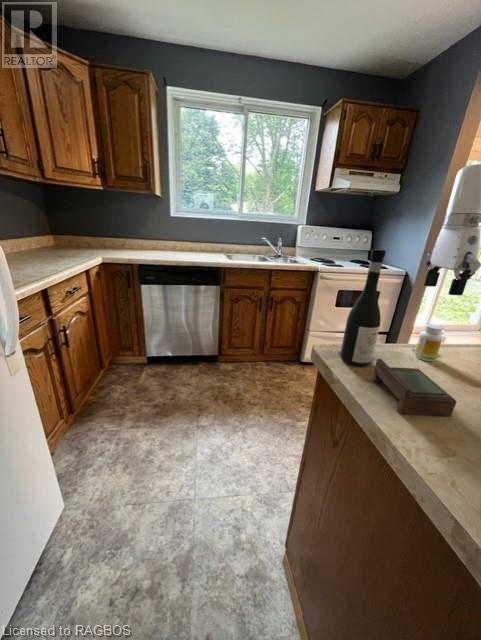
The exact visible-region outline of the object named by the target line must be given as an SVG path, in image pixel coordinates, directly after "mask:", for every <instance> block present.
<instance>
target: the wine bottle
mask: <svg viewBox="0 0 481 640" xmlns="http://www.w3.org/2000/svg"><path fill="white" fill-rule="evenodd" d="M386 252H387V251H386V250H385V249H378V248H374V249H373V248H372V250H371V252H370V253H371V254H370V261H369V264H368V265H369V266H368V271H367V276H366V280H365V285H364V287H363V290H362V292H361V293H360V295H359V297H358V299H357V300H356V301H355V303H354V304H353V306H352V307H351V309H350V311H349V313H348V316H347V319H346V323H345V328H344V334H343V339H342V344H341V349H340V358H341V359H342V361H343V362H345V363H347V364H348V365H351V366H355V367H366V366H368V365H370V364H371V363H372V360H373V356H374V352H375V348H376V344H377V340H378V337H379V336H378V335H379V331H380V327H381V310H380V305H379V304H380V303H379V299H378V284H379V279H380V276H381V270H382V266H383V263H384V258H386V257H385V256H386Z"/></svg>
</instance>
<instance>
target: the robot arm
mask: <svg viewBox="0 0 481 640" xmlns="http://www.w3.org/2000/svg"><path fill="white" fill-rule="evenodd" d="M480 247H481V163H479V164H469V165H466V166H464V167H462V168H460V169H459V170H458V171H457V173H456V176H455V179H454V182H453V187H452V190H451V195H450V197H449V201H448V203H447V208H446V211H445V216H444V218H443V222H442V226H441V229H440V231H439V234H438V236H437V239H436V241H435V243H434V247H433V250H432V252H430V253H428V254H427V255H426V276H425V279H424V283H423V286H424V287H437V284H438V281H439V278H440V276H441V275H440V274H441V272H439V271H441V270H442V269H446V270H449V271H453V274H454V277H455V278H452V280H451V282H450V283H451V284H450V287H449V290H448V295H450V296H463V294H464V292H465V289H466V286H467V283H468V281H469V280H470V279H471V277H473V276H474V275H475V274H476V272H477V271H478V270H479V269H480V267H481V261H480V260H478V256H479V253H480Z"/></svg>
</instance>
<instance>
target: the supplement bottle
mask: <svg viewBox="0 0 481 640" xmlns="http://www.w3.org/2000/svg"><path fill="white" fill-rule="evenodd" d="M442 332H443V327H442V326H440V325H437V324H431V323H427V324H425V326H424V330H422V331H421V332H420V333H419V336H418V339H417V342H416V346H415V349H414V354H413V355H414V356H415V357H416V358H417V359H419V360H422V361H425V362H435V361H436V360H437V357H438V354H439V352H440V348H441V345H442V342H443V339H444V337H443V336H442V335H441V334H442Z"/></svg>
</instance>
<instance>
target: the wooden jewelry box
mask: <svg viewBox="0 0 481 640" xmlns="http://www.w3.org/2000/svg"><path fill="white" fill-rule="evenodd" d="M370 383H371V384H382V385H385V386H386V387H387V388H388V389H389V390H390V391H391V393H392V394H394V396H395V397H396V398H397V399H398V400H399V401H398V403H397V408H396V412H397V413H398V415H400V416H418V417H419V416H420V417H421V416H422V417H443V418H445V417H446V418H451V417H452V415H453V413H454V410H455V408H456V404H457V401H458V400H456V399H455V398H454V397H453V396H451V395H450V394H449V393H448V392H447V391H445V390H444V389H443V388H442V387H441V386H439V385H438V384H437V383H436V382H435V381H434V380H433V379H432V378H430V377H429V376H428V375H427V374H425V372H424V371H422V370H421V369H419V368H415V367H413V368H412V367H392V366H389V365H388V364H387V363H386V362H385V361H384V360H383V359H382V358H376V362H375V366H374V369H373V374H372V378H371V382H370Z"/></svg>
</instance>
